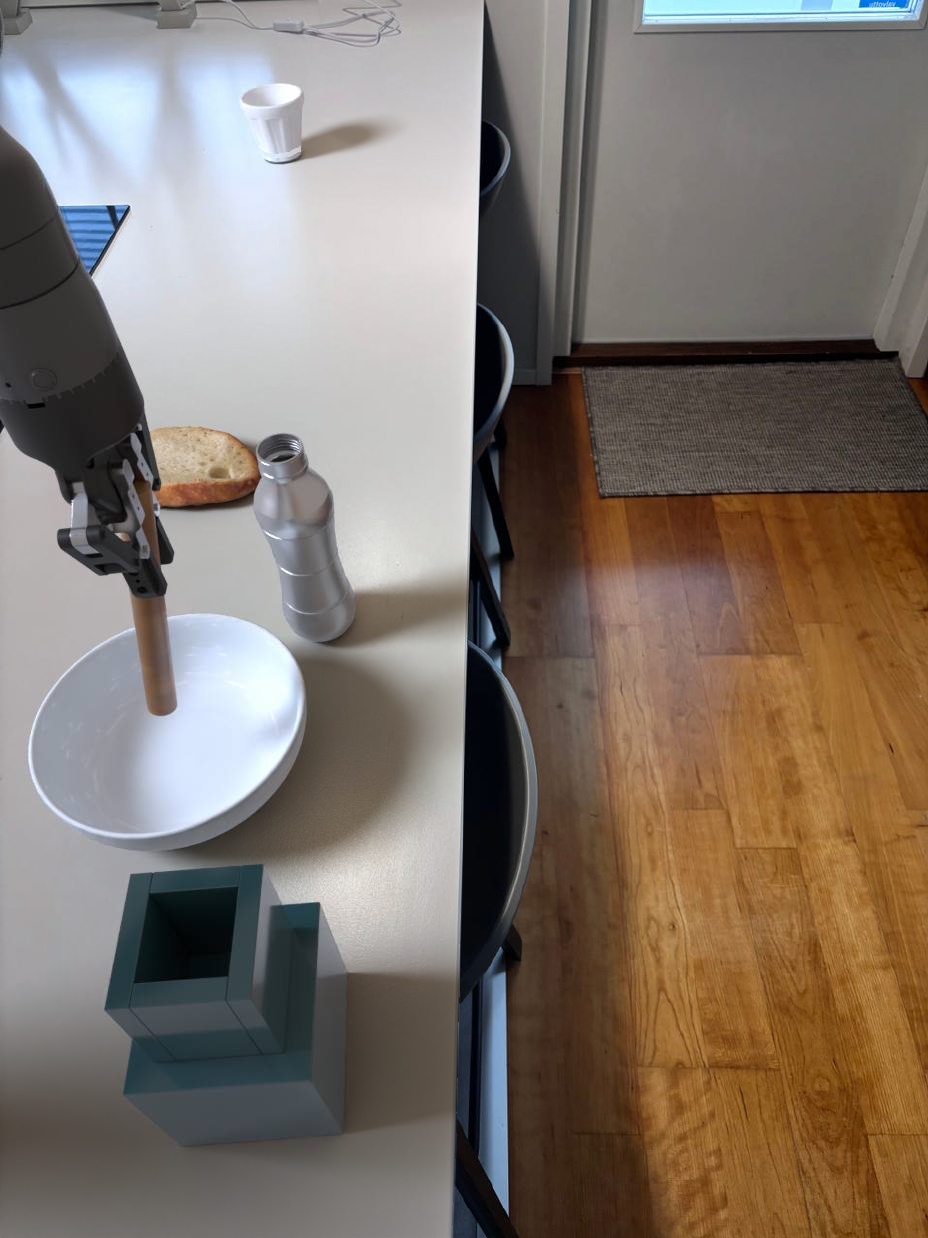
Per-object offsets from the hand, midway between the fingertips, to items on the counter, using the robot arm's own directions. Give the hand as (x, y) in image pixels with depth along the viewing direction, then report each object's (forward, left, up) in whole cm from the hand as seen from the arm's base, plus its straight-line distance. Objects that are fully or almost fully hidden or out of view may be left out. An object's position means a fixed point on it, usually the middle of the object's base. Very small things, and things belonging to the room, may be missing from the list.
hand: (155, 576), depth 64 cm
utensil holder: (+6, -25, -19) cm, 32 cm away
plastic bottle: (+8, +12, -19) cm, 24 cm away
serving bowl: (-3, -2, -19) cm, 20 cm away
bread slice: (-10, +34, -19) cm, 40 cm away
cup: (-4, +115, -19) cm, 116 cm away
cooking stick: (-3, -1, -12) cm, 13 cm away
